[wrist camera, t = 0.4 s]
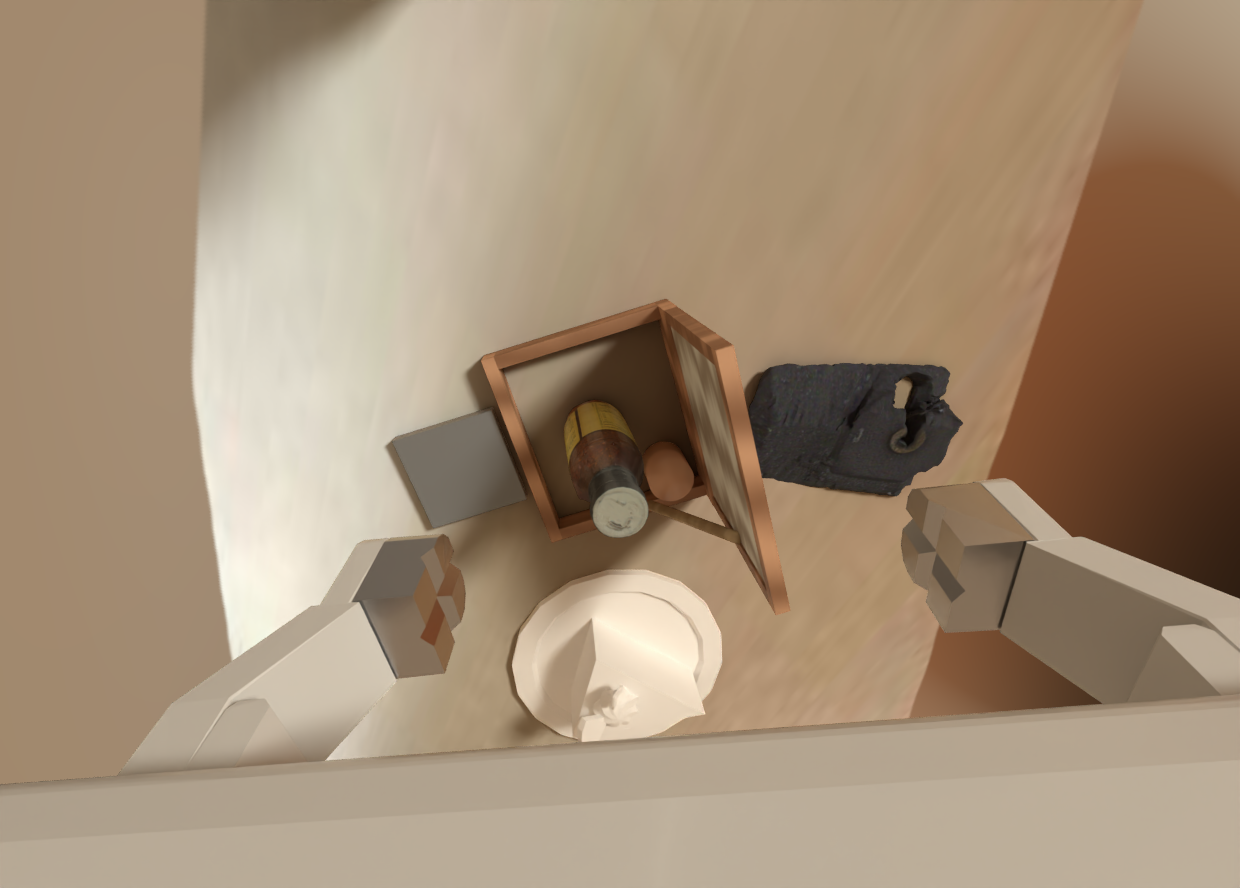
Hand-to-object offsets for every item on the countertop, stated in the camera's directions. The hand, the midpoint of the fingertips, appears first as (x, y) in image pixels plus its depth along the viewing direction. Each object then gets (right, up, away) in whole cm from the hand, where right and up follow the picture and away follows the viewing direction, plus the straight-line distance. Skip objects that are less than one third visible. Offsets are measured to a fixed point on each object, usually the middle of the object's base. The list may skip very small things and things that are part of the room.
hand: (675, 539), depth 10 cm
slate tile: (-17, -1, +48) cm, 51 cm away
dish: (-1, -24, +59) cm, 64 cm away
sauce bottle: (-4, +4, +48) cm, 49 cm away
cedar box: (-3, +4, +48) cm, 48 cm away
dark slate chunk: (+22, +4, +52) cm, 57 cm away
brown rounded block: (+3, 0, +50) cm, 51 cm away
